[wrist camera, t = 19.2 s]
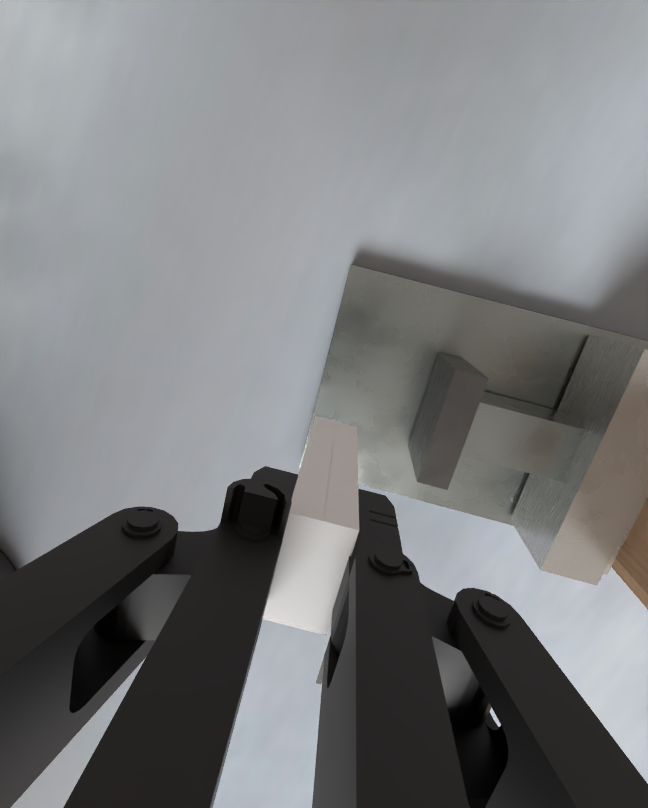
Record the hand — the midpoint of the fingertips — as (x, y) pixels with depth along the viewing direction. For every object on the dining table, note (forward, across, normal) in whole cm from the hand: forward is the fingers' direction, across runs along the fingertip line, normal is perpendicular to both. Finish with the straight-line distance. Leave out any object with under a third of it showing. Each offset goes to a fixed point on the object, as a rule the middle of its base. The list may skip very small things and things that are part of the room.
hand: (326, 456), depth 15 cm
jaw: (+11, +11, 0) cm, 15 cm away
